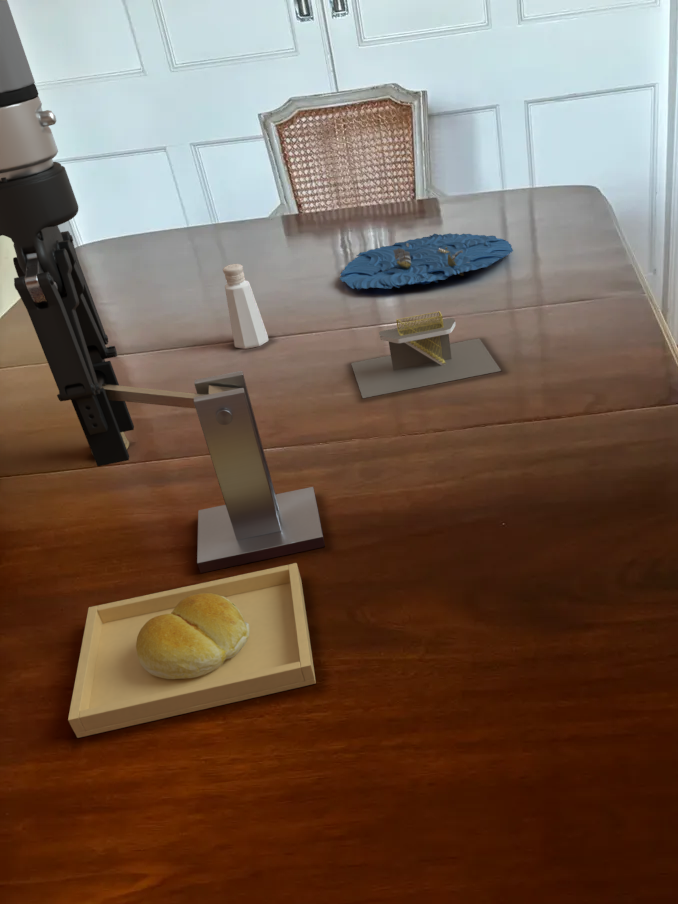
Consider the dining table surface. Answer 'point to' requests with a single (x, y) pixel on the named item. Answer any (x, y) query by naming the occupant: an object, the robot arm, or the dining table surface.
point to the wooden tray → (238, 678)
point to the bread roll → (192, 637)
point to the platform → (422, 358)
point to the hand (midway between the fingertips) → (116, 445)
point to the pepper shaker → (243, 310)
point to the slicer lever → (152, 394)
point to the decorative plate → (423, 260)
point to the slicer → (246, 487)
